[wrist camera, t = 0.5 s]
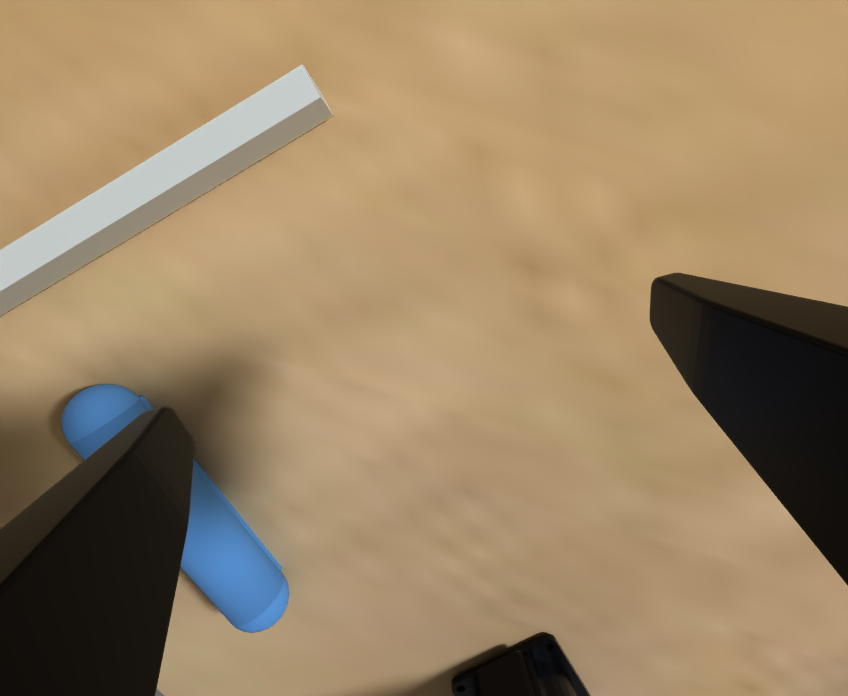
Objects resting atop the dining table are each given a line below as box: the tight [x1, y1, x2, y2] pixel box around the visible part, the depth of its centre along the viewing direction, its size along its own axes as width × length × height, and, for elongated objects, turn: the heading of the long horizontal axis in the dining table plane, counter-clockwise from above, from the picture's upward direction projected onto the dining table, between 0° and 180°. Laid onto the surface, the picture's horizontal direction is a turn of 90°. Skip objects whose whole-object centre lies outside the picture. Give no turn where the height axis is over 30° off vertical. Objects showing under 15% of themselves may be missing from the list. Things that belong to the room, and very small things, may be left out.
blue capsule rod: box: [61, 384, 289, 633], centre depth 23 cm, size 14×3×3 cm, turn 29°
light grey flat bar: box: [0, 65, 334, 316], centre depth 18 cm, size 23×1×4 cm, turn 119°
